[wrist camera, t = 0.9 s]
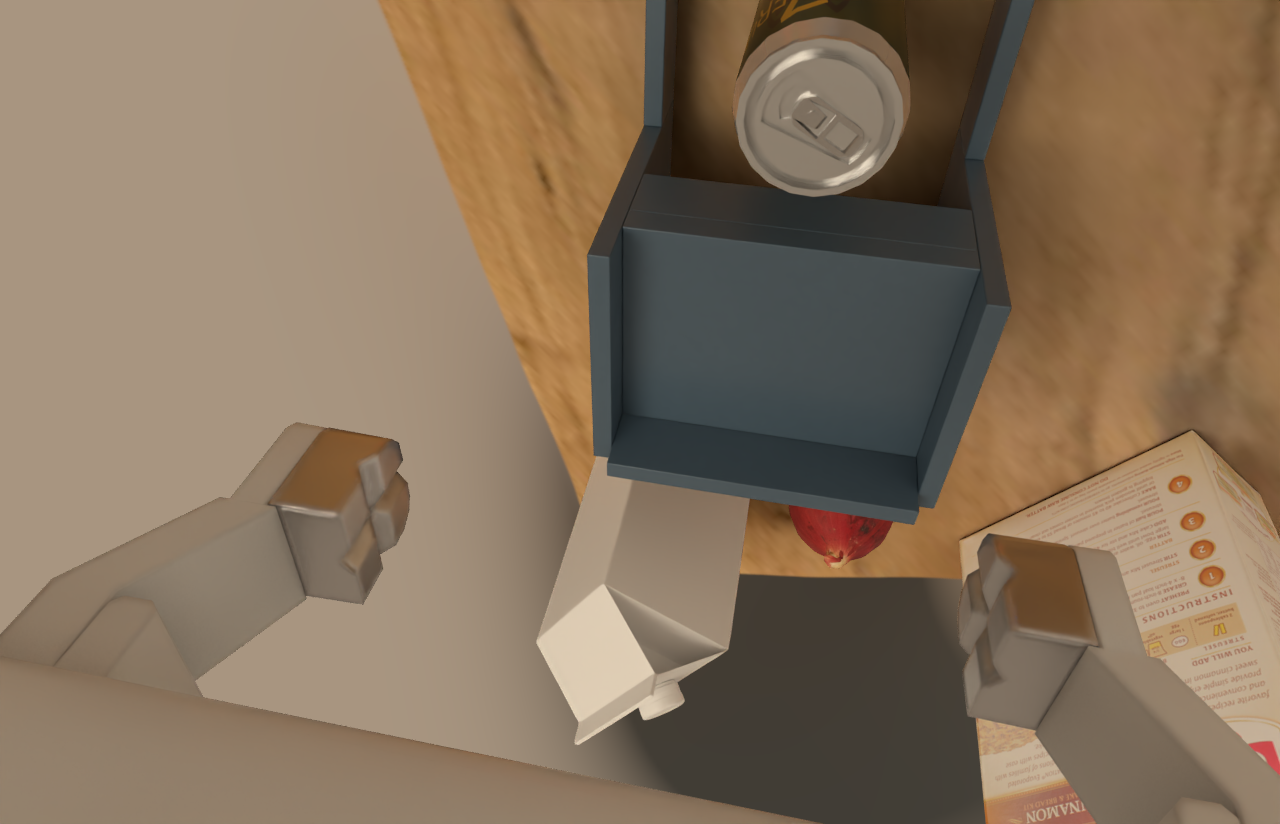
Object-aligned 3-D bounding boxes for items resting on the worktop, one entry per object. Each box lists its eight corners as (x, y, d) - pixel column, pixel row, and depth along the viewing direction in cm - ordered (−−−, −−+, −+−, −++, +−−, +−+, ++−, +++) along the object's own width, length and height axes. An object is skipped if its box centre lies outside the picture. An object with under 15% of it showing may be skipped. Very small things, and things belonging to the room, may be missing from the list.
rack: (663, -169, 32) (566, -60, 22) (1060, -146, 30) (1152, -16, 20) (651, 281, 46) (587, 473, 36) (922, 315, 44) (935, 528, 34)
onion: (858, 409, 49) (855, 517, 43) (913, 470, 51) (917, 579, 45) (775, 447, 52) (762, 551, 46) (830, 502, 54) (824, 608, 49)
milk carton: (601, 436, 54) (511, 714, 41) (661, 371, 50) (581, 661, 36) (694, 489, 56) (636, 773, 43) (760, 431, 51) (719, 730, 38)
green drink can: (933, -29, 33) (953, 102, 25) (841, 84, 37) (830, 232, 28) (822, -117, 32) (802, -11, 23) (738, 9, 35) (694, 140, 27)
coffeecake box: (1025, 593, 57) (1073, 918, 43) (953, 538, 54) (980, 862, 40) (1267, 496, 47) (1430, 871, 33) (1193, 424, 45) (1334, 795, 31)
